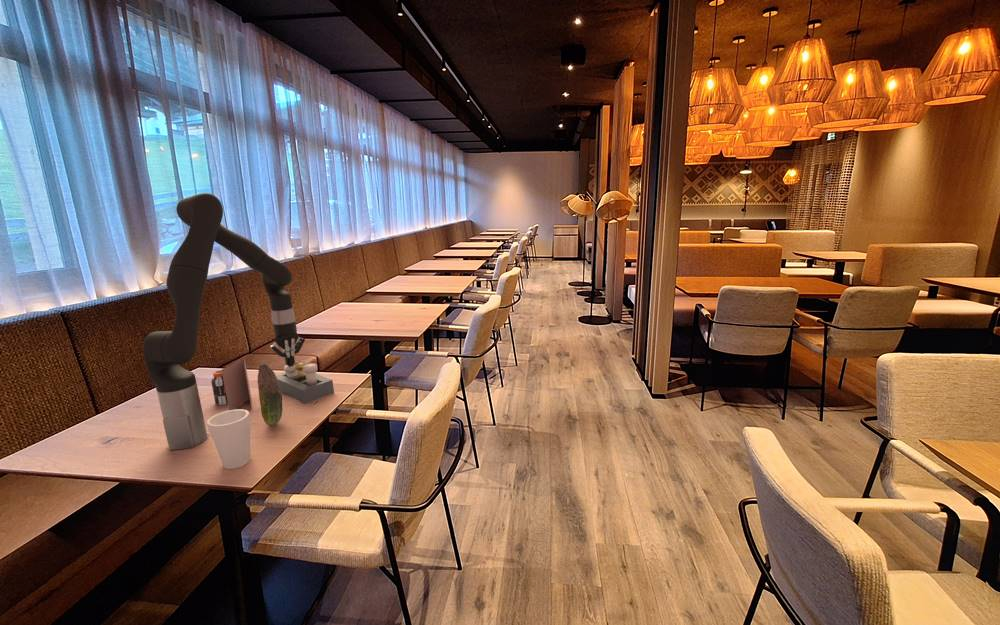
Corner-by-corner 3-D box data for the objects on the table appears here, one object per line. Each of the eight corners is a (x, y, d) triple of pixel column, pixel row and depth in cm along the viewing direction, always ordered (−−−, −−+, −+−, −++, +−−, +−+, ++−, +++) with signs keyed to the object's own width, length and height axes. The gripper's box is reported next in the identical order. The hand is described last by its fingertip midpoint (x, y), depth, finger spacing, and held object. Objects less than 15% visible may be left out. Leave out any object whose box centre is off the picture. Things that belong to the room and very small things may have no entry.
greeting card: (249, 397, 159) (242, 357, 156) (268, 397, 159) (262, 357, 155) (227, 411, 148) (219, 369, 145) (248, 412, 148) (240, 369, 144)
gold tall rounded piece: (309, 379, 163) (307, 362, 161) (300, 383, 160) (297, 365, 158) (304, 377, 165) (301, 360, 163) (294, 380, 162) (292, 363, 161)
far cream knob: (302, 383, 168) (299, 365, 166) (290, 387, 164) (287, 369, 162) (296, 380, 170) (293, 363, 169) (284, 384, 167) (281, 366, 165)
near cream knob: (321, 383, 158) (319, 365, 157) (309, 388, 155) (307, 368, 153) (314, 381, 161) (312, 362, 160) (302, 385, 158) (300, 366, 156)
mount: (334, 392, 161) (332, 379, 160) (305, 403, 152) (303, 390, 151) (302, 380, 174) (300, 367, 173) (274, 389, 166) (272, 376, 165)
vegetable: (262, 422, 140) (252, 362, 135) (284, 417, 143) (275, 358, 138) (264, 430, 135) (253, 368, 130) (287, 424, 138) (277, 363, 133)
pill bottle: (228, 405, 153) (222, 374, 151) (211, 405, 154) (205, 374, 151) (238, 398, 159) (233, 368, 157) (222, 398, 159) (216, 368, 157)
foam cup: (263, 452, 123) (255, 408, 120) (246, 471, 114) (237, 425, 111) (228, 453, 122) (220, 410, 119) (208, 473, 113) (198, 426, 110)
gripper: (270, 326, 154) (278, 373, 158) (306, 318, 164) (312, 362, 168) (260, 323, 159) (268, 369, 163) (296, 315, 169) (302, 359, 173)
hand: (290, 365), depth 166 cm, fingers closed
